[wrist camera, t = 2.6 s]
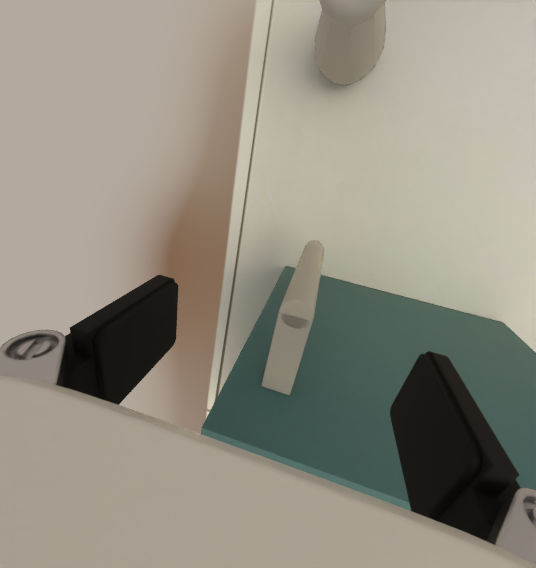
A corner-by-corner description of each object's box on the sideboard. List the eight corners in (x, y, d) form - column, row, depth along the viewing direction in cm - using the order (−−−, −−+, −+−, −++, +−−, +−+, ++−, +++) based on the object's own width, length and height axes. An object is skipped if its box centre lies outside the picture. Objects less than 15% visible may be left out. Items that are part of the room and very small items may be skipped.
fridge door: (297, 217, 32) (213, 321, 10) (538, 273, 28) (1178, 613, 7) (283, 274, 35) (199, 443, 14) (498, 331, 31) (841, 681, 10)
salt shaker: (358, 101, 26) (374, 49, 15) (306, 76, 26) (281, 4, 15) (394, 28, 23) (451, -107, 12) (336, 0, 24) (336, -160, 12)
